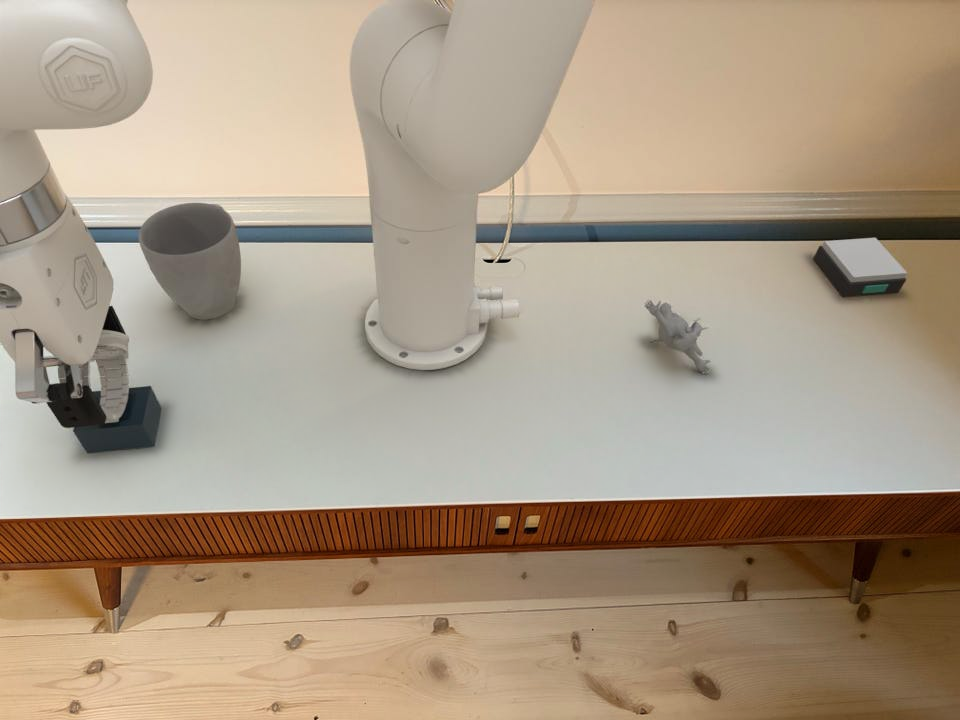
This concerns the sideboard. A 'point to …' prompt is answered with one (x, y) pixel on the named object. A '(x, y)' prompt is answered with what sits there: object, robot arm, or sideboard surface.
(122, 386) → the watch
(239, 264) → the mug
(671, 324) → the grey creature figurine
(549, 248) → the sideboard surface
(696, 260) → the sideboard surface
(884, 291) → the scale
